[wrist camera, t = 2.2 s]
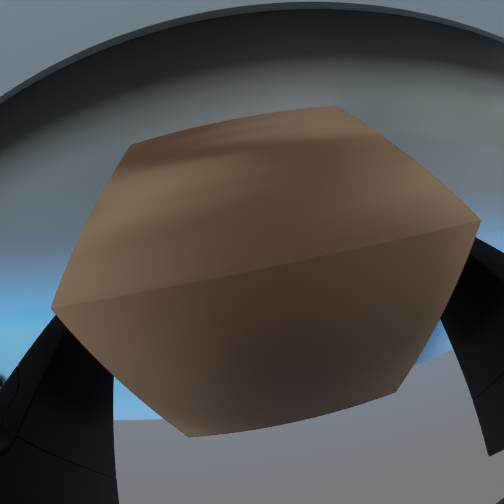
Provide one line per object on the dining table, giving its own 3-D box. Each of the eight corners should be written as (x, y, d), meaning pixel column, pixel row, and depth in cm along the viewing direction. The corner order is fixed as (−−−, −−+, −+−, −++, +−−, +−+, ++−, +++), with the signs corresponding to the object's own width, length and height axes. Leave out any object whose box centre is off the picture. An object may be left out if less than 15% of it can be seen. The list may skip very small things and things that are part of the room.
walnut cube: (186, 286, 12) (188, 436, 7) (131, 144, 8) (50, 308, 3) (334, 256, 12) (395, 392, 7) (334, 105, 8) (480, 219, 3)
